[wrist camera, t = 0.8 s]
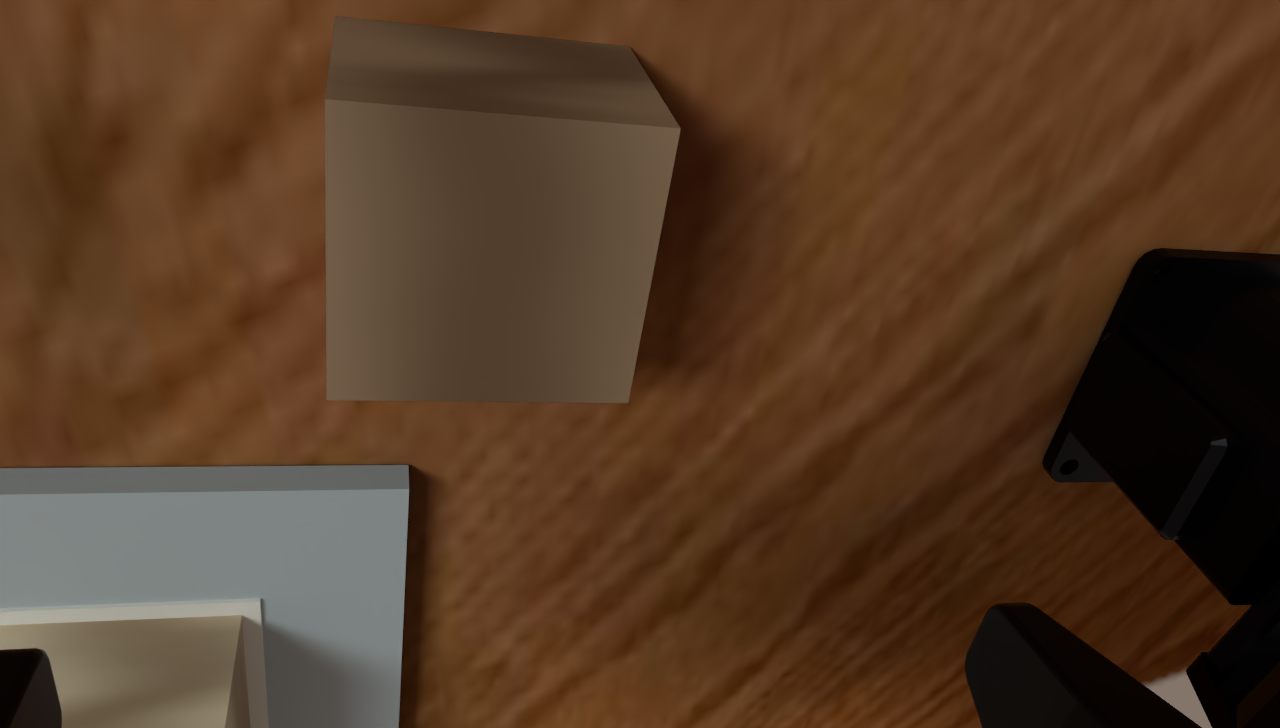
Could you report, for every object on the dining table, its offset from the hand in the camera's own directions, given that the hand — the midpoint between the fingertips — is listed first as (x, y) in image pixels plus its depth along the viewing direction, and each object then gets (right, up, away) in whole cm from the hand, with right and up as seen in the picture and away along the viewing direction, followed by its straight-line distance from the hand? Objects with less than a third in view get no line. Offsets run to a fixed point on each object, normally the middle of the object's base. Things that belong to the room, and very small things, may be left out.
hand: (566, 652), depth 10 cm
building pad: (-11, -4, +14) cm, 19 cm away
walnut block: (-2, +6, +9) cm, 11 cm away
